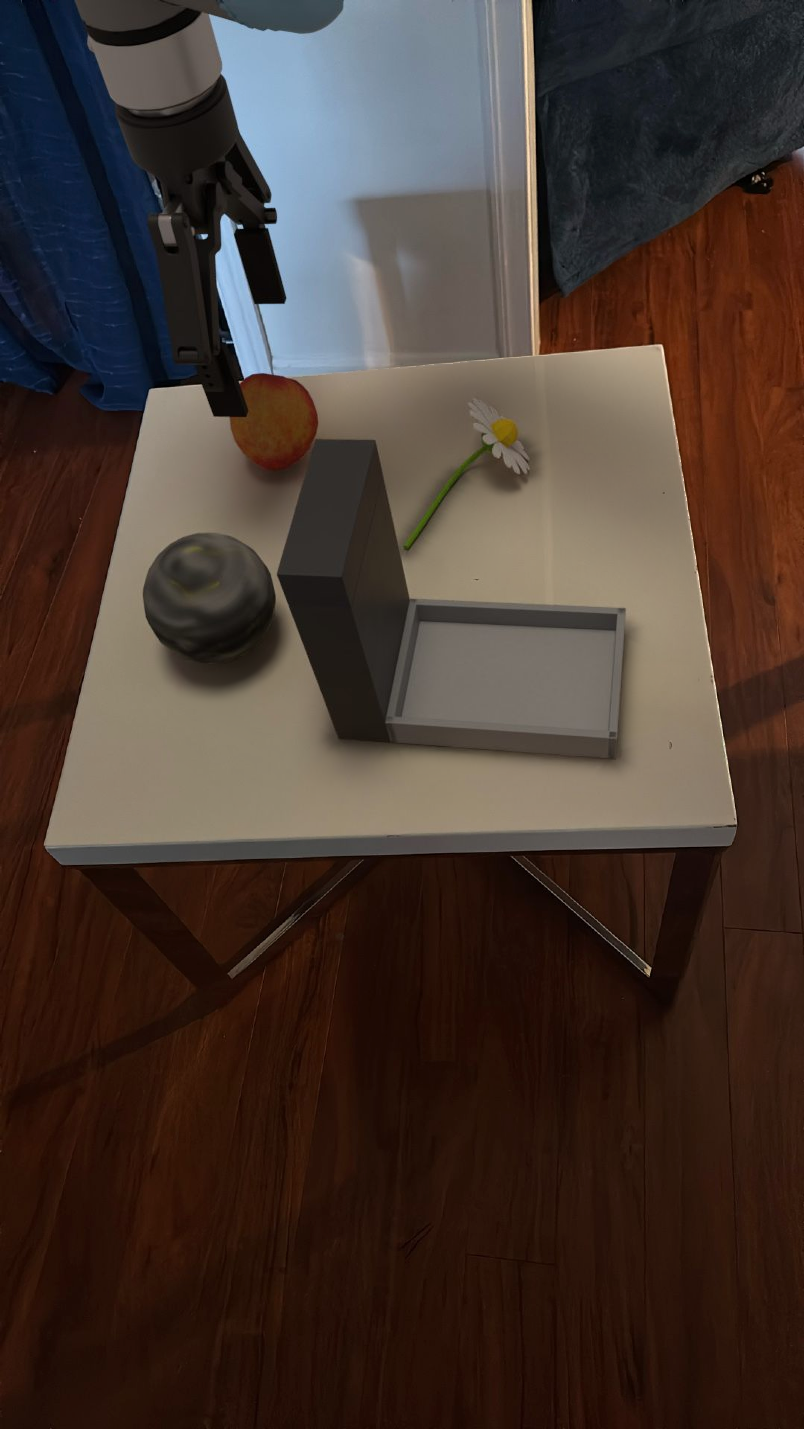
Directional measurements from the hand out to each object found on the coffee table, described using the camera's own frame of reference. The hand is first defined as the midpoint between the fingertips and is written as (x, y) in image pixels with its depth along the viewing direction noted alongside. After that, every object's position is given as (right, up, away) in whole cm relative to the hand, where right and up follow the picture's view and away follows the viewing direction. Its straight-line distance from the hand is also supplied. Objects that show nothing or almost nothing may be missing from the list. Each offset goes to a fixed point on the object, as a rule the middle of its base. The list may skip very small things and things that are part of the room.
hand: (251, 355), depth 85 cm
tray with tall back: (+18, -27, -7) cm, 33 cm away
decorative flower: (+19, -11, +3) cm, 22 cm away
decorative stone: (-2, -23, -1) cm, 23 cm away
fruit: (+2, -6, +9) cm, 11 cm away
